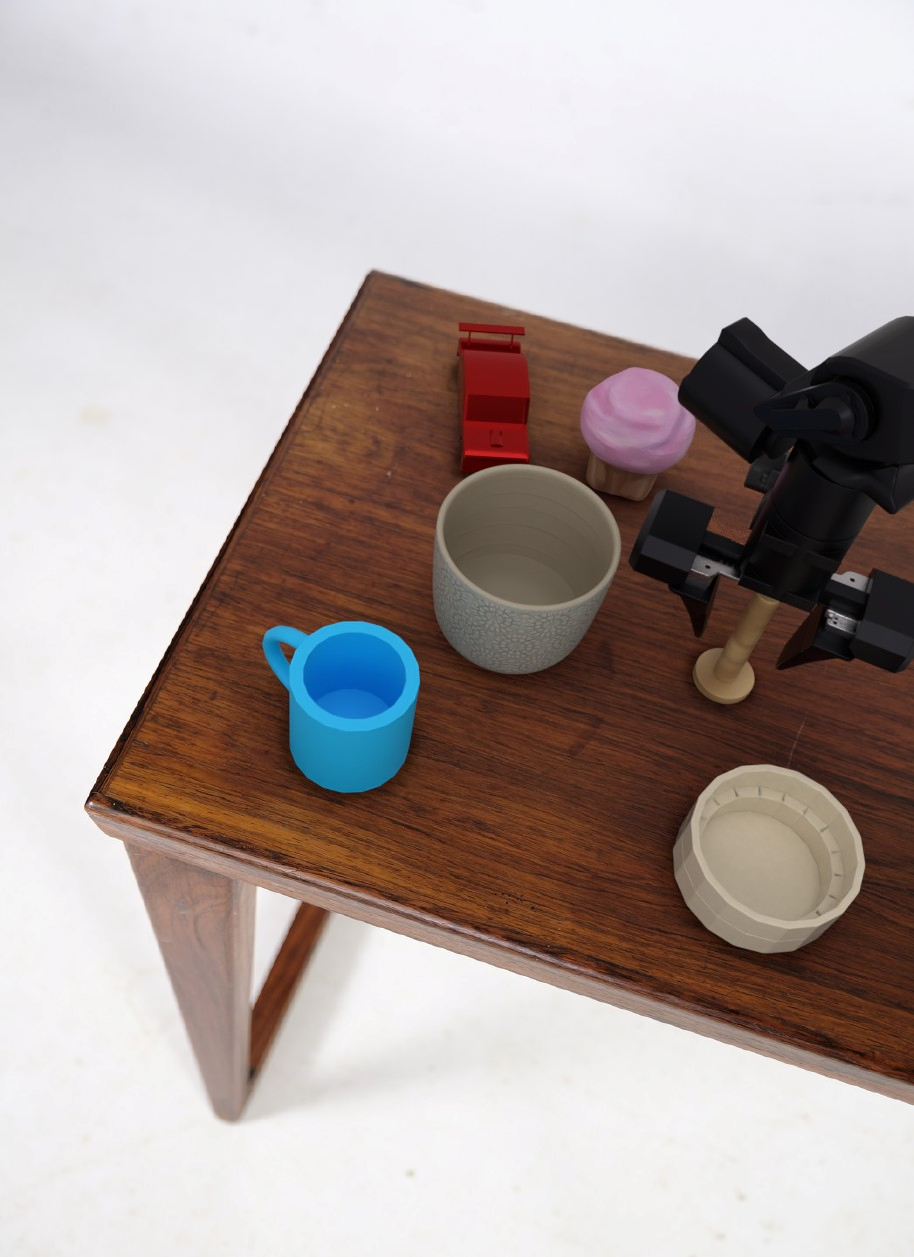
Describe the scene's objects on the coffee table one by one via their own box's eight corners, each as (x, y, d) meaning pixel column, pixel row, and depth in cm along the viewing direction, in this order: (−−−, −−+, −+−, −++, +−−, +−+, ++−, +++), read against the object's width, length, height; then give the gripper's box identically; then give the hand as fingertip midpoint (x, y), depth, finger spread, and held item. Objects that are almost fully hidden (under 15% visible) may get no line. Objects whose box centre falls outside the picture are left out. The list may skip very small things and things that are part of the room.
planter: (621, 629, 89) (658, 537, 80) (514, 730, 83) (541, 643, 74) (497, 533, 93) (519, 435, 84) (386, 623, 87) (397, 528, 78)
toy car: (453, 357, 103) (460, 313, 99) (516, 362, 104) (526, 318, 100) (457, 479, 95) (464, 437, 91) (526, 483, 96) (536, 441, 92)
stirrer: (757, 667, 88) (809, 580, 80) (743, 713, 86) (794, 628, 77) (701, 645, 89) (746, 556, 80) (685, 690, 86) (730, 603, 78)
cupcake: (556, 503, 95) (581, 414, 87) (575, 428, 100) (600, 337, 92) (665, 531, 95) (700, 444, 87) (678, 454, 100) (712, 365, 92)
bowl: (849, 837, 81) (879, 804, 77) (814, 985, 75) (844, 958, 71) (697, 773, 83) (718, 738, 79) (649, 913, 76) (670, 883, 72)
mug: (434, 737, 82) (446, 673, 75) (352, 816, 78) (358, 756, 71) (307, 635, 85) (309, 566, 79) (223, 706, 81) (217, 639, 75)
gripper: (989, 471, 75) (887, 615, 87) (706, 368, 77) (647, 522, 90) (963, 600, 68) (857, 734, 81) (656, 483, 71) (601, 631, 84)
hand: (738, 648), depth 84 cm, fingers open, 6 cm apart
